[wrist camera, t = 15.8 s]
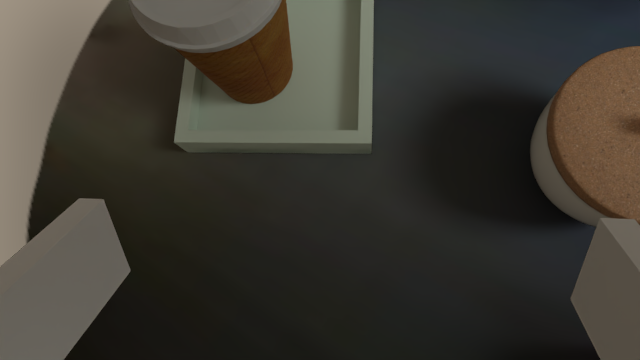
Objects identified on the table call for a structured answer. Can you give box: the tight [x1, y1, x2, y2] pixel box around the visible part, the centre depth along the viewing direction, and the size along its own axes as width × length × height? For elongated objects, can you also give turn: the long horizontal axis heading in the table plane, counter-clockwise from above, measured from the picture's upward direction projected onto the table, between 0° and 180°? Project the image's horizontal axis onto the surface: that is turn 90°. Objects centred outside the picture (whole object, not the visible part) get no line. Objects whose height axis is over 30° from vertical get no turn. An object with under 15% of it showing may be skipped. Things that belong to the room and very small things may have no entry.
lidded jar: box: [530, 46, 640, 227], centre depth 26 cm, size 11×11×9 cm
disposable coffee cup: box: [129, 0, 293, 104], centre depth 28 cm, size 10×10×12 cm
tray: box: [174, 0, 374, 154], centre depth 34 cm, size 15×15×2 cm
